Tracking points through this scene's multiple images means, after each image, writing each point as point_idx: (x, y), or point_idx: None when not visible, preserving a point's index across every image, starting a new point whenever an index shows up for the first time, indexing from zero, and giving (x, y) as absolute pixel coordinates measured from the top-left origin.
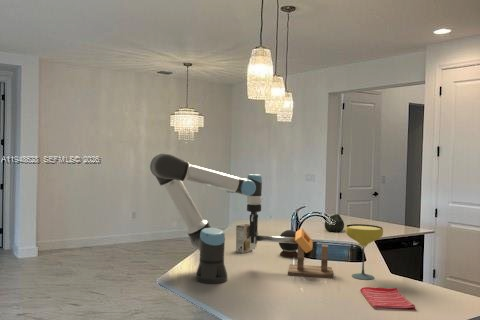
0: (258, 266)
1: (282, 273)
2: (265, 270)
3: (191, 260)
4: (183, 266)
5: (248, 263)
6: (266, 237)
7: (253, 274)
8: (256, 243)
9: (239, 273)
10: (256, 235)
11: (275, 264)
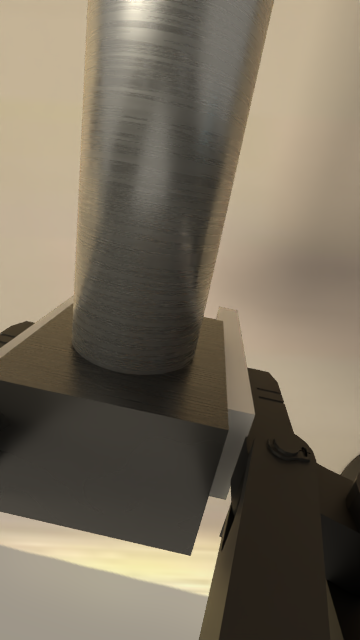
0: None
1: (342, 3)
2: (236, 173)
3: (60, 545)
4: (174, 574)
5: (51, 290)
6: (239, 95)
7: (348, 273)
8: (205, 318)
9: (313, 359)
10: (226, 406)
11: (29, 63)
